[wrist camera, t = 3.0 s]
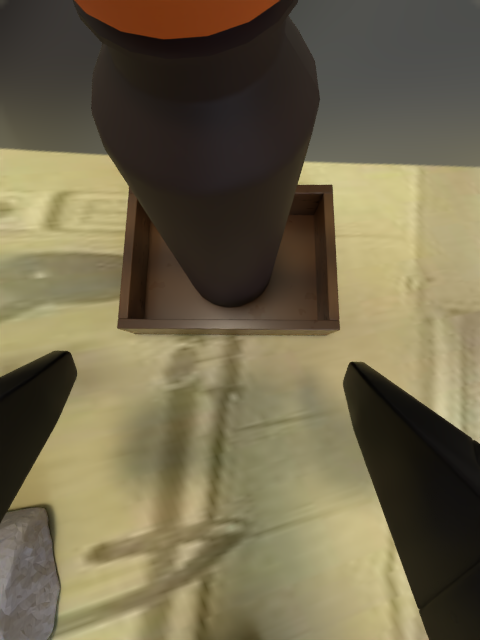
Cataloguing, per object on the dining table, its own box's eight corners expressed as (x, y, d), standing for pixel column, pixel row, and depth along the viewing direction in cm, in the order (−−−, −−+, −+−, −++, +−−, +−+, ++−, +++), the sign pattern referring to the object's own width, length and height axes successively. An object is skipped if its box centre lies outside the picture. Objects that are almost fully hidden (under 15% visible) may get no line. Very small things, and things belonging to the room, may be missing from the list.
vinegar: (176, 289, 23) (-305, -248, 3) (210, 218, 24) (29, -549, 4) (252, 321, 22) (318, -71, 2) (284, 247, 23) (522, -473, 3)
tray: (326, 335, 22) (340, 330, 19) (135, 333, 22) (116, 328, 19) (321, 208, 24) (332, 184, 21) (144, 209, 24) (129, 185, 21)
